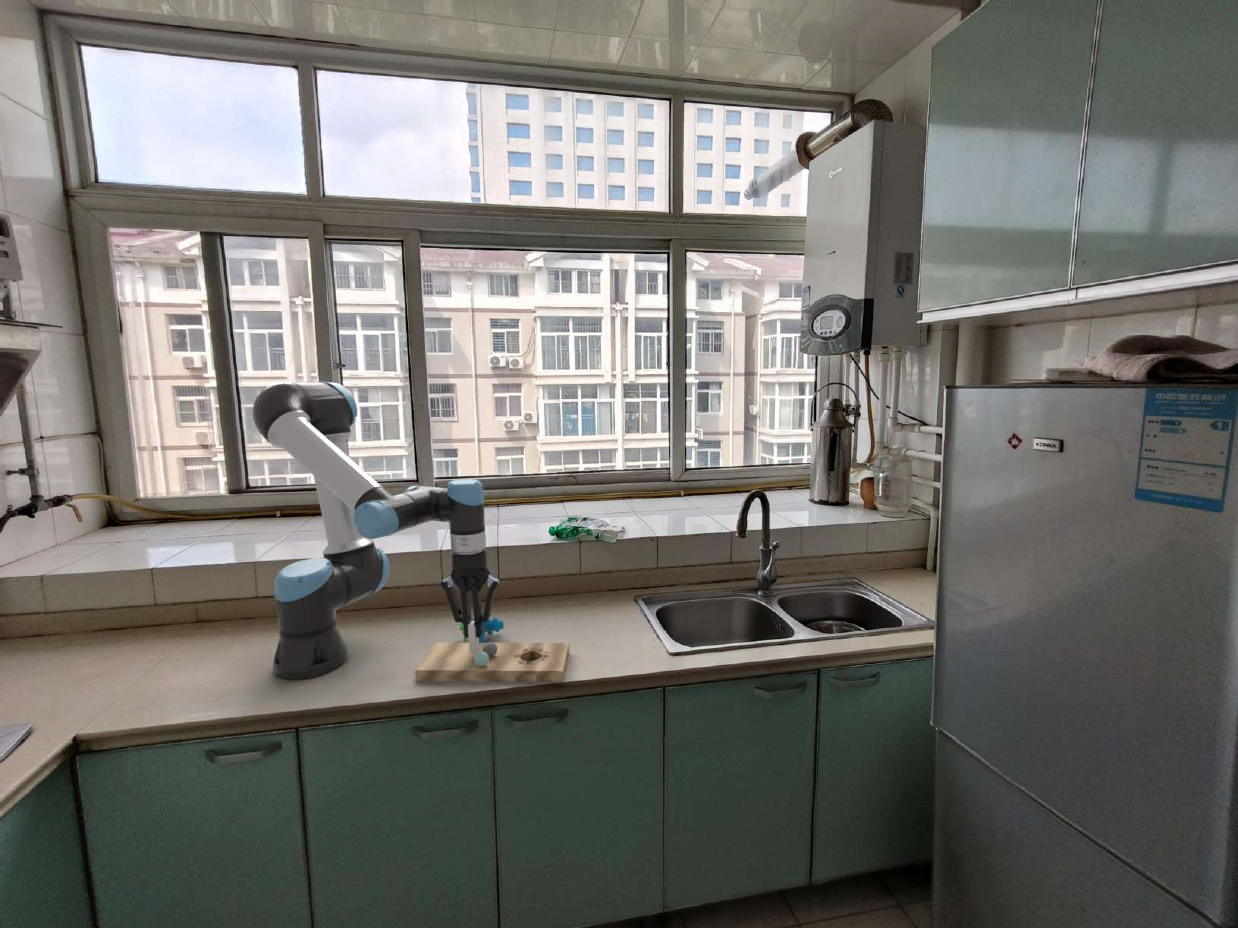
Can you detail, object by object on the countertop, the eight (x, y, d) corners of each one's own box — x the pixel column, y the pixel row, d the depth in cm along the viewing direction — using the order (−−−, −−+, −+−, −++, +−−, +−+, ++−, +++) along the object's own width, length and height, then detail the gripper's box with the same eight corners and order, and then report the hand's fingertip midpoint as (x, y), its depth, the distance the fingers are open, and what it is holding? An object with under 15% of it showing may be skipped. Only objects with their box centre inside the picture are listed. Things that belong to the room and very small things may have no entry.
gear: (509, 626, 148) (496, 611, 140) (507, 649, 144) (493, 635, 136) (469, 629, 149) (453, 615, 141) (466, 652, 146) (449, 639, 138)
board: (415, 680, 125) (415, 670, 124) (435, 652, 138) (435, 642, 137) (562, 681, 124) (562, 670, 124) (569, 652, 137) (569, 642, 137)
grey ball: (494, 660, 129) (480, 658, 129) (498, 653, 132) (484, 651, 132) (496, 647, 128) (481, 645, 128) (499, 640, 131) (485, 638, 132)
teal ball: (472, 669, 125) (471, 655, 124) (476, 662, 128) (475, 648, 127) (487, 669, 124) (486, 655, 124) (490, 662, 128) (490, 648, 127)
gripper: (433, 555, 123) (440, 658, 127) (494, 554, 123) (499, 658, 126) (445, 544, 130) (450, 642, 134) (502, 544, 130) (506, 642, 134)
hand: (474, 650), depth 130 cm, fingers closed
